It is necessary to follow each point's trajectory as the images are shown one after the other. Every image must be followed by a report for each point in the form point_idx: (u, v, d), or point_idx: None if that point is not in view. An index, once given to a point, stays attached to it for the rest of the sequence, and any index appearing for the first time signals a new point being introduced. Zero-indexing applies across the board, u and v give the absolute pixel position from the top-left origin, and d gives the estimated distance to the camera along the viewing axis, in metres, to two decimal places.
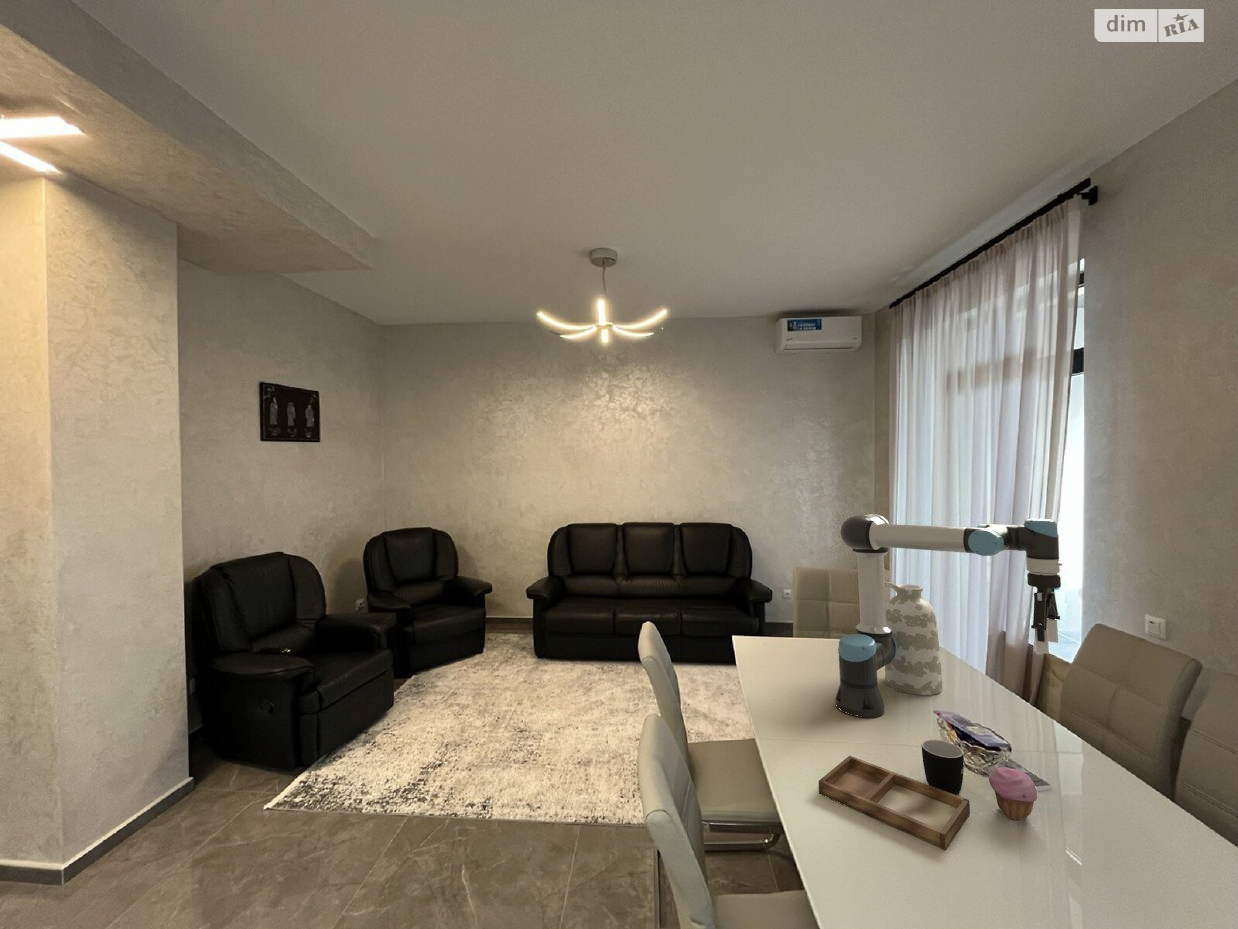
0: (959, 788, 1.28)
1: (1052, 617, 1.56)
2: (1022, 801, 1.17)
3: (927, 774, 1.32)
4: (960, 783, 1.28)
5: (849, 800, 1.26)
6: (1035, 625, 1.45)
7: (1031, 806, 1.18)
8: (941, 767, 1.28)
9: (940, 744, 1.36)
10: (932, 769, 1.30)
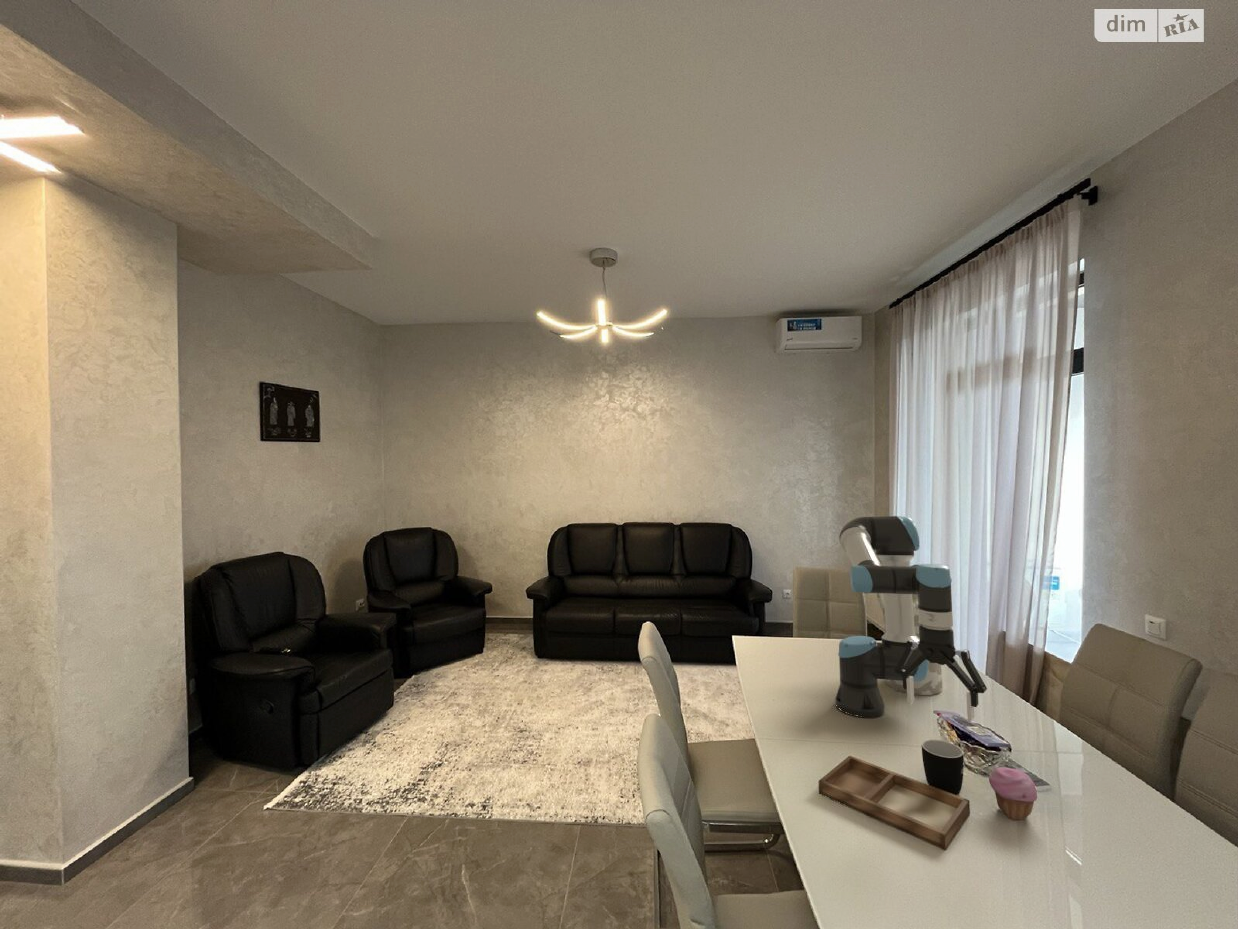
0: (959, 788, 1.28)
1: None
2: (1022, 801, 1.17)
3: (927, 774, 1.32)
4: (960, 783, 1.28)
5: (849, 800, 1.26)
6: None
7: (1031, 806, 1.18)
8: (941, 767, 1.28)
9: (940, 744, 1.36)
10: (932, 769, 1.30)
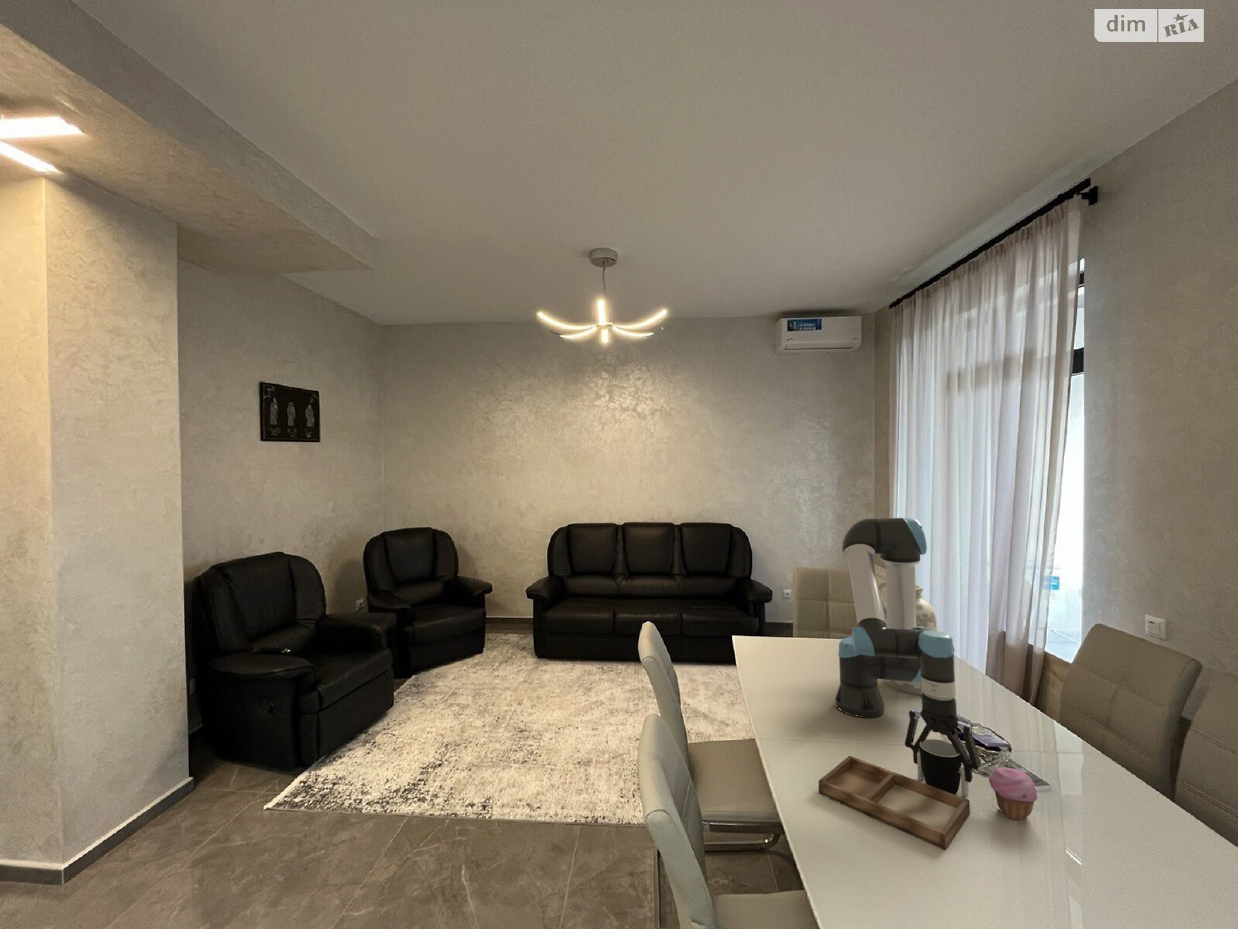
0: (957, 787, 1.29)
1: None
2: (1022, 801, 1.17)
3: (925, 773, 1.32)
4: (958, 782, 1.28)
5: (849, 800, 1.26)
6: None
7: (1031, 806, 1.18)
8: (938, 766, 1.29)
9: (938, 743, 1.36)
10: (930, 768, 1.30)
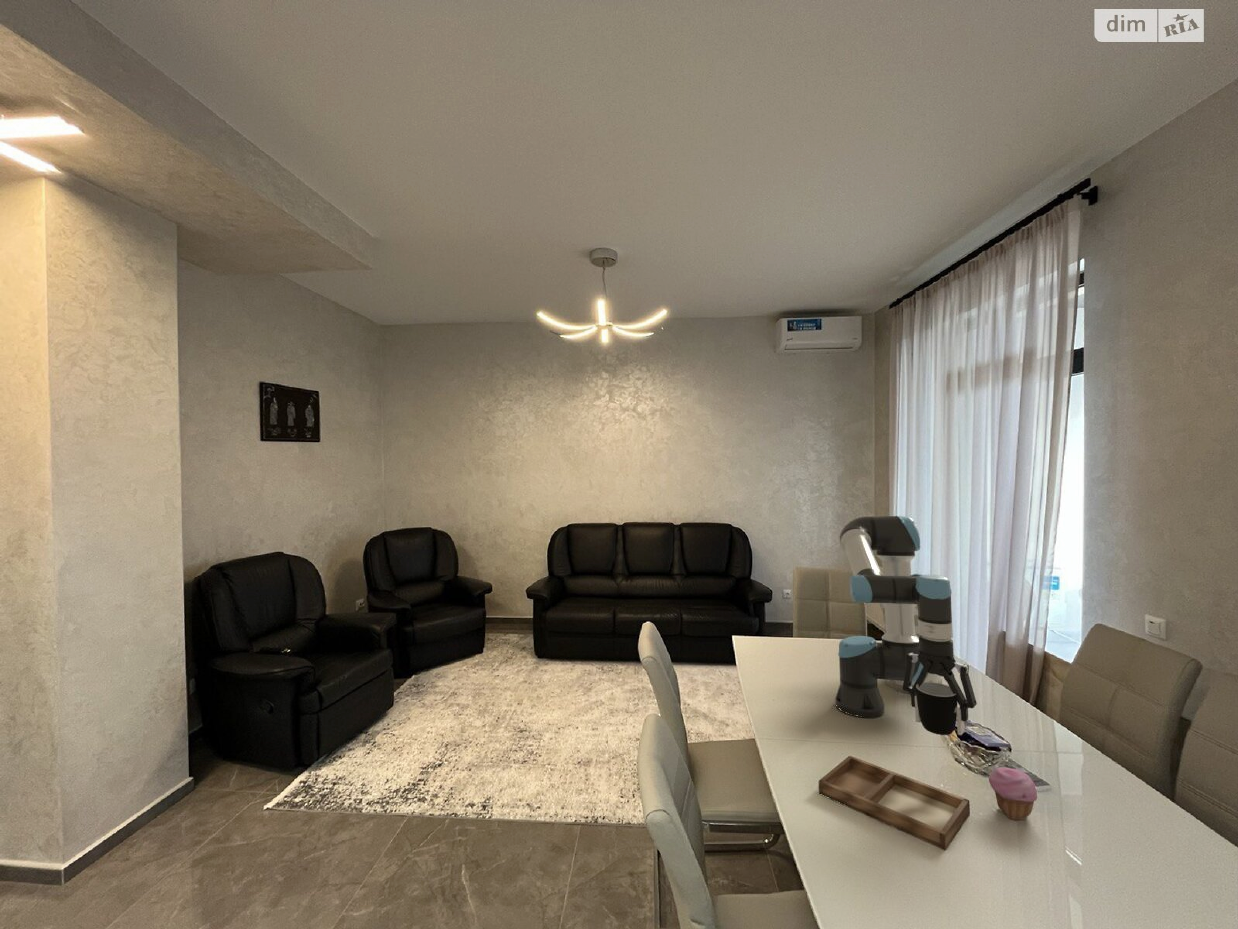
0: (952, 727, 1.29)
1: None
2: (1022, 801, 1.17)
3: (921, 714, 1.33)
4: (953, 722, 1.29)
5: (849, 800, 1.26)
6: None
7: (1031, 806, 1.18)
8: (934, 706, 1.29)
9: (935, 686, 1.37)
10: (926, 708, 1.31)
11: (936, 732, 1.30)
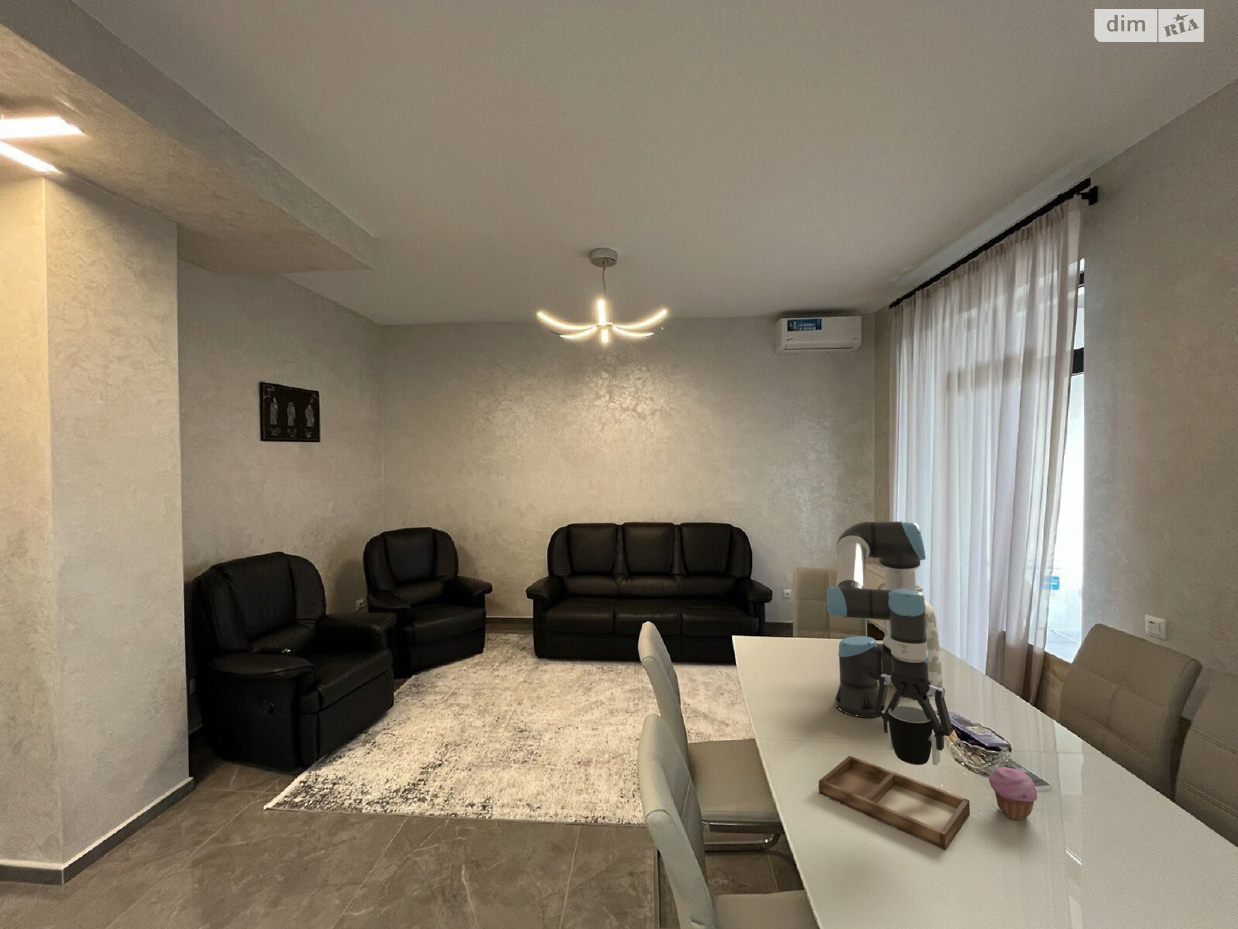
0: (927, 756, 1.19)
1: None
2: (1022, 801, 1.17)
3: (893, 741, 1.22)
4: (928, 750, 1.18)
5: (849, 800, 1.26)
6: None
7: (1031, 806, 1.18)
8: (907, 733, 1.19)
9: (909, 710, 1.26)
10: (898, 735, 1.20)
11: (909, 762, 1.19)
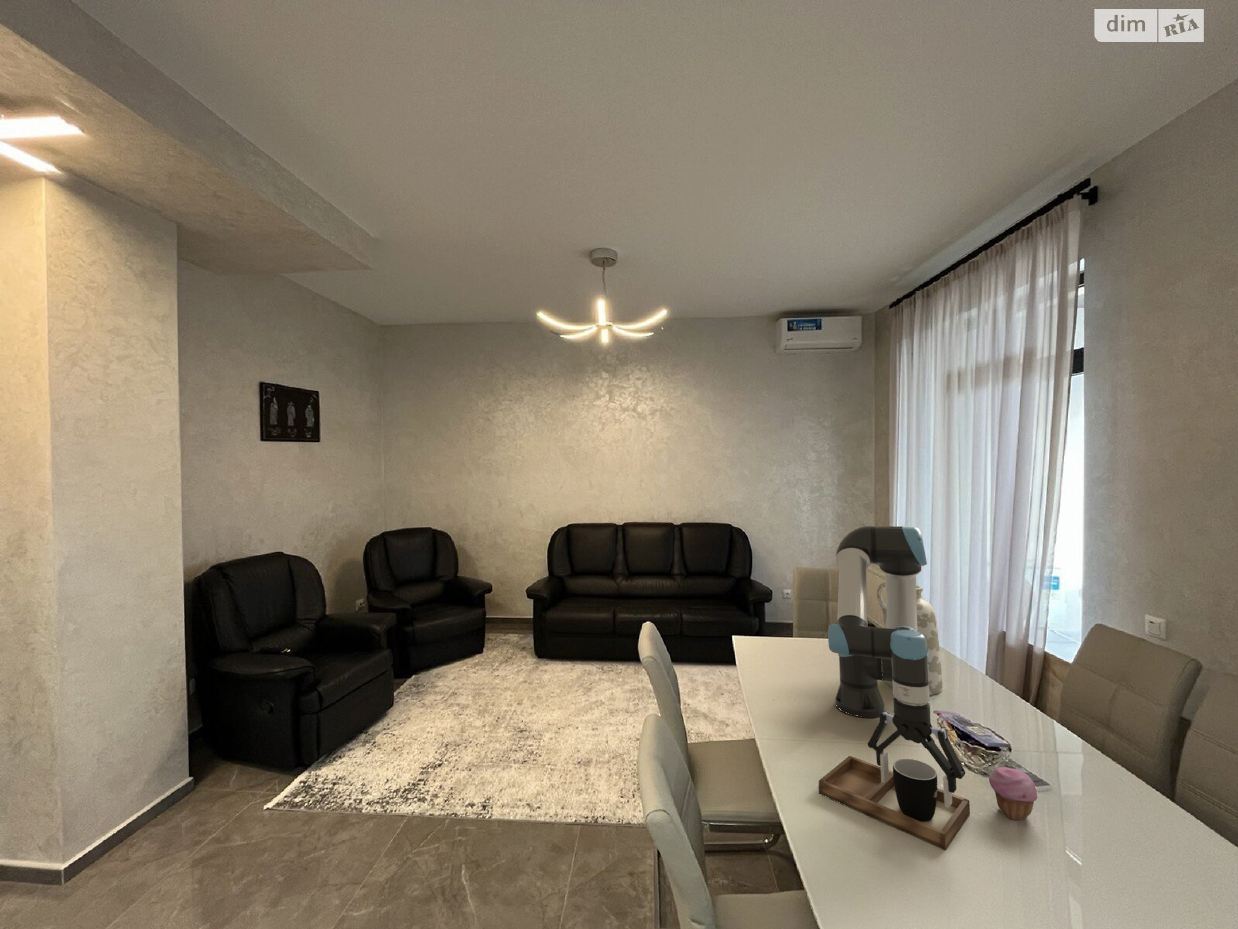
0: (932, 813, 1.18)
1: None
2: (1022, 801, 1.17)
3: (898, 797, 1.21)
4: (933, 807, 1.18)
5: (849, 800, 1.26)
6: None
7: (1031, 806, 1.18)
8: (912, 789, 1.18)
9: (913, 764, 1.25)
10: (903, 791, 1.19)
11: (914, 818, 1.18)
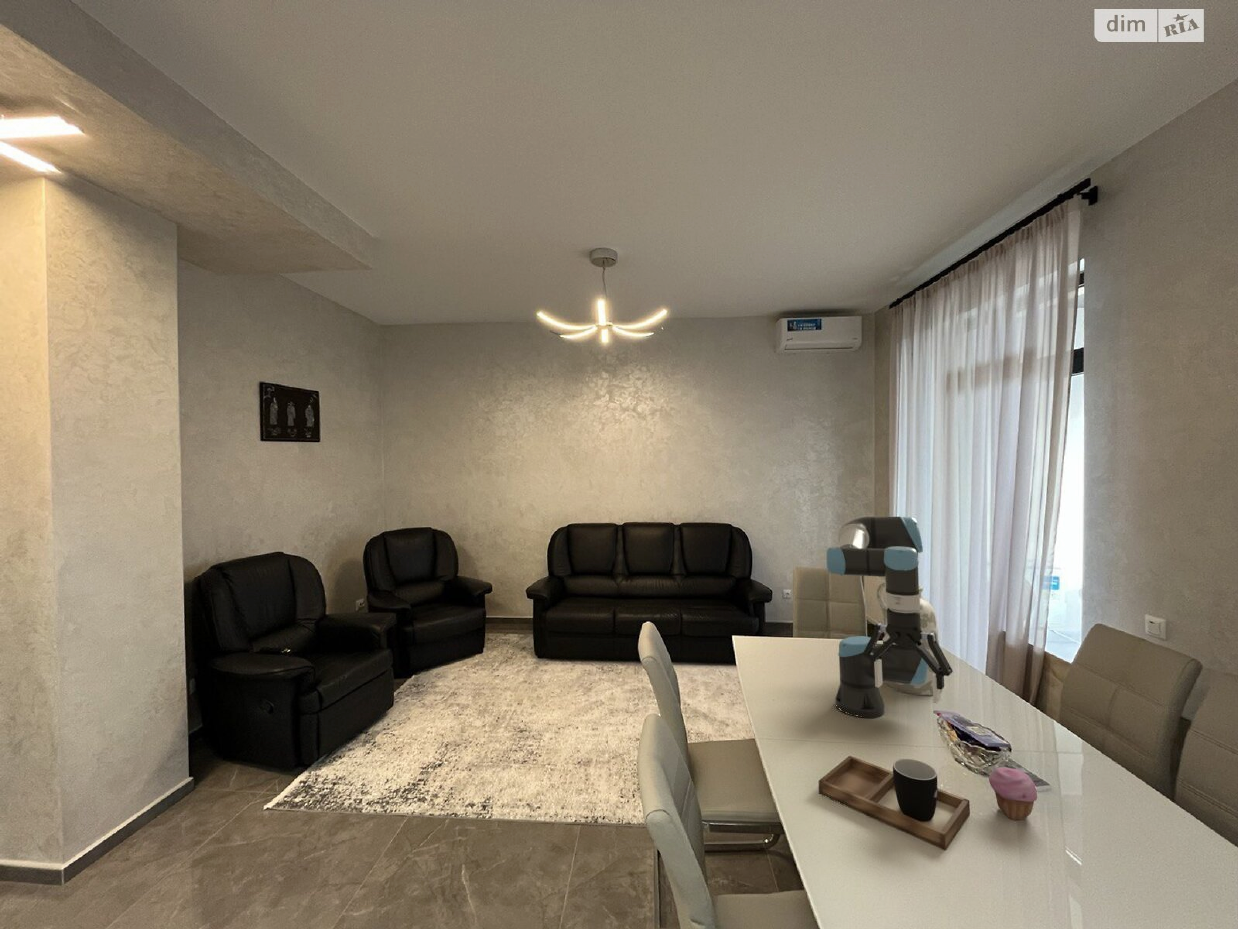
0: (932, 813, 1.18)
1: None
2: (1022, 801, 1.17)
3: (898, 797, 1.21)
4: (933, 807, 1.18)
5: (849, 800, 1.26)
6: None
7: (1031, 806, 1.18)
8: (912, 789, 1.18)
9: (913, 764, 1.25)
10: (903, 791, 1.19)
11: (914, 818, 1.18)
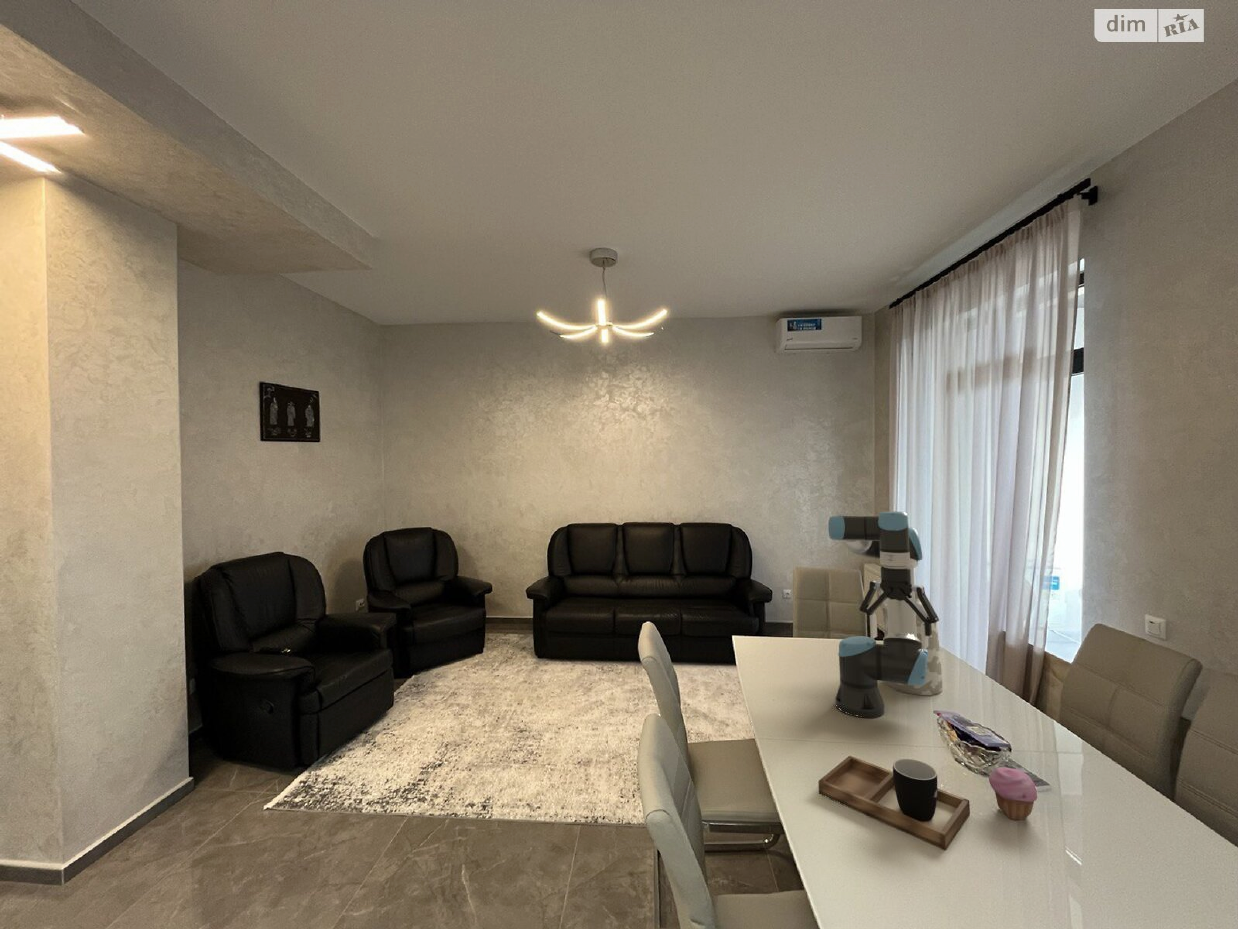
0: (932, 813, 1.18)
1: None
2: (1022, 801, 1.17)
3: (898, 797, 1.21)
4: (933, 807, 1.18)
5: (849, 800, 1.26)
6: None
7: (1031, 806, 1.18)
8: (912, 789, 1.18)
9: (913, 764, 1.25)
10: (903, 791, 1.19)
11: (914, 818, 1.18)
